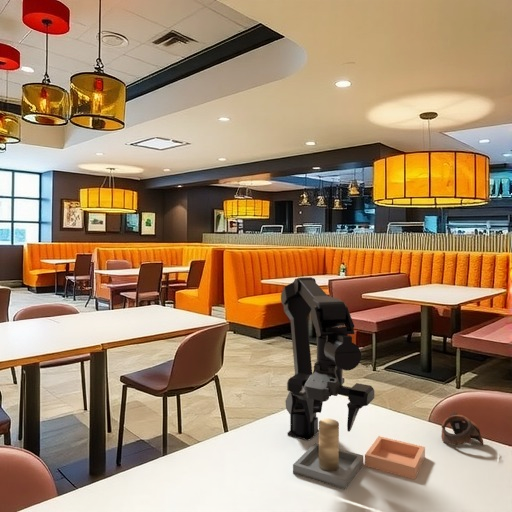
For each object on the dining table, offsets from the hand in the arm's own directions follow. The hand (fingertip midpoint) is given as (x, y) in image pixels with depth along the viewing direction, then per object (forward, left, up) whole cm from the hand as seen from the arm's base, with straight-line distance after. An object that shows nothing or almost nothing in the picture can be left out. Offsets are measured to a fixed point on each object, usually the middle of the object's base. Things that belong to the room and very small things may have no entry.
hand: (329, 426), depth 99 cm
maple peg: (0, 0, -9) cm, 9 cm away
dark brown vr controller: (+23, +30, -11) cm, 40 cm away
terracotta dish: (+12, +11, -10) cm, 19 cm away
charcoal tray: (0, 0, -10) cm, 10 cm away
